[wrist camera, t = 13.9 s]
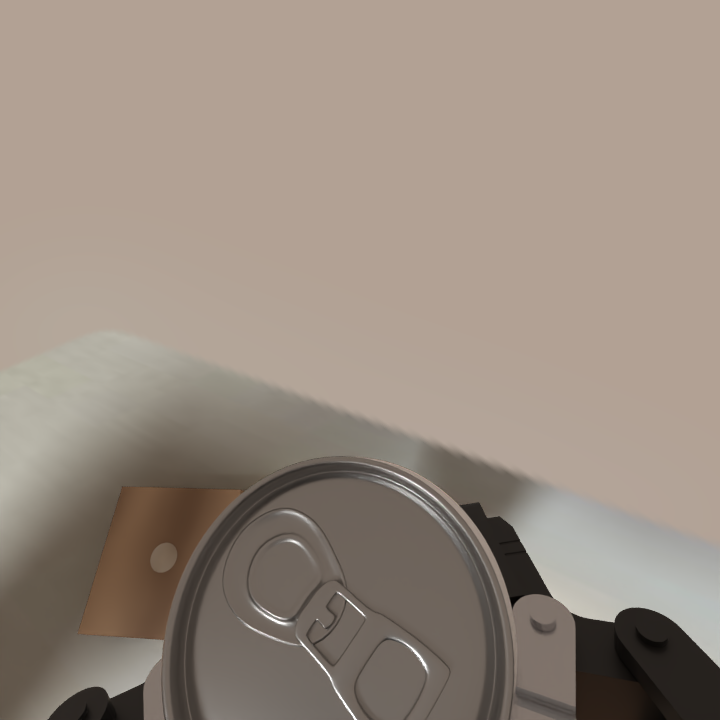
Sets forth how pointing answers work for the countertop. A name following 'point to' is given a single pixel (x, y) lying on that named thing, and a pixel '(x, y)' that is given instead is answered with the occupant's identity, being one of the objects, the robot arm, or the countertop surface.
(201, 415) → the countertop surface
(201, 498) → the tile
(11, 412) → the countertop surface
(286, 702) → the can
